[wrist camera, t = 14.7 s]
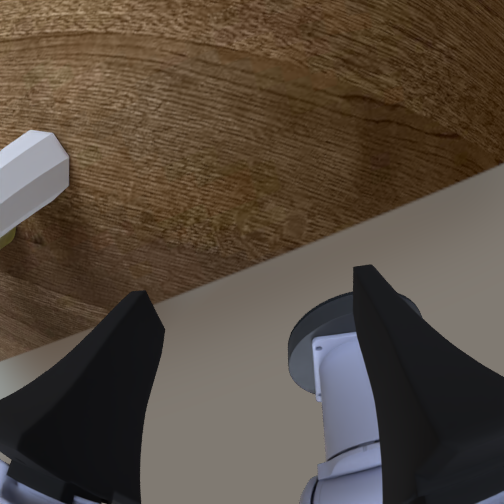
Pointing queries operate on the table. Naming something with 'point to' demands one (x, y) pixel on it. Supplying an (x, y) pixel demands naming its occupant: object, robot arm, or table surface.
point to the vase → (7, 238)
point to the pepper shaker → (30, 176)
